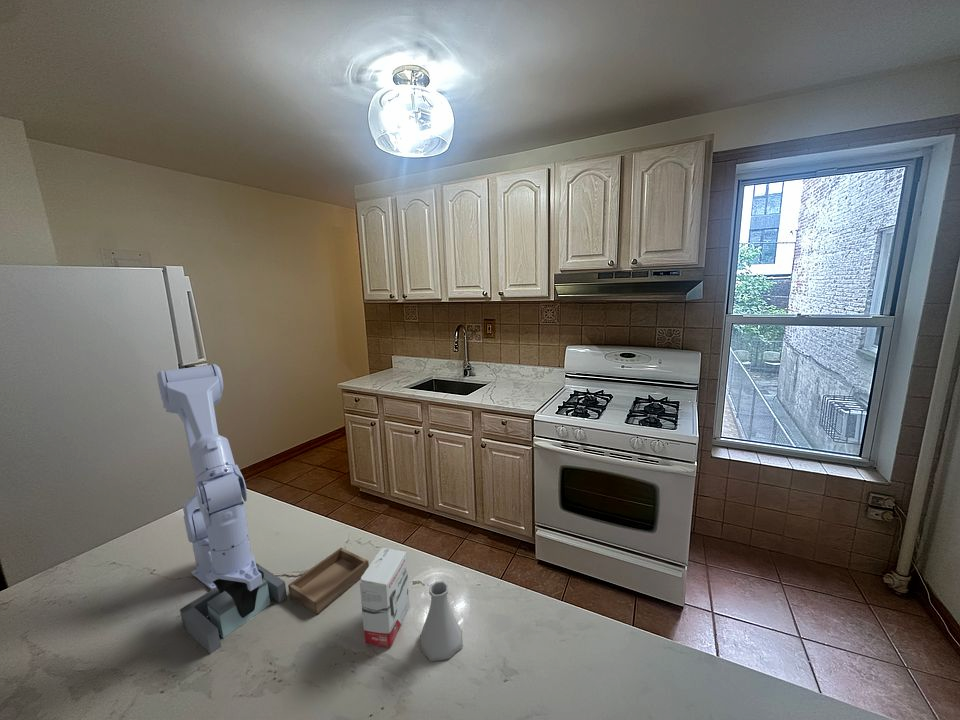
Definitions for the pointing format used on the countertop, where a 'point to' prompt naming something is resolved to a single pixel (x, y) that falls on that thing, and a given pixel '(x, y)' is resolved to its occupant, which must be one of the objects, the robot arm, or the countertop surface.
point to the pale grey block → (234, 610)
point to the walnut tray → (328, 580)
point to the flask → (440, 626)
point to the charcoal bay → (198, 612)
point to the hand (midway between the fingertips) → (240, 607)
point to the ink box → (384, 596)
